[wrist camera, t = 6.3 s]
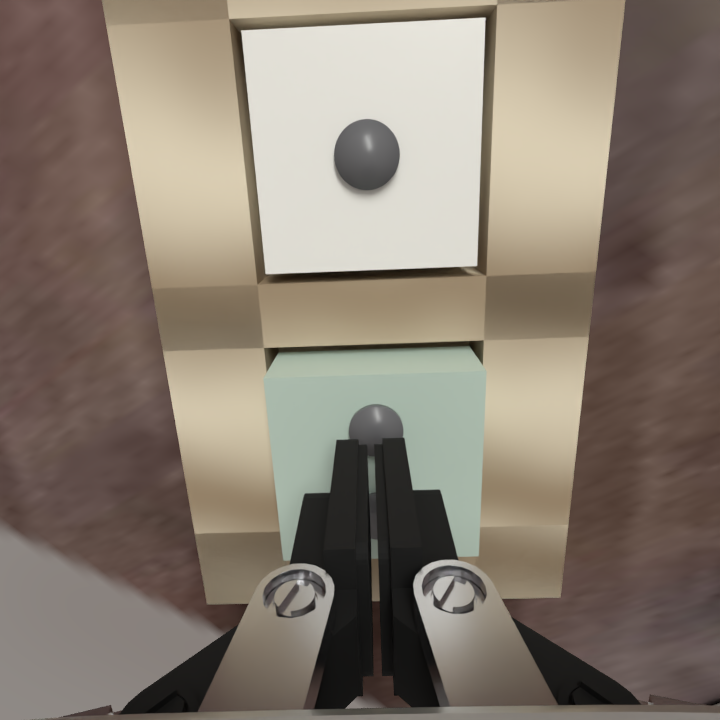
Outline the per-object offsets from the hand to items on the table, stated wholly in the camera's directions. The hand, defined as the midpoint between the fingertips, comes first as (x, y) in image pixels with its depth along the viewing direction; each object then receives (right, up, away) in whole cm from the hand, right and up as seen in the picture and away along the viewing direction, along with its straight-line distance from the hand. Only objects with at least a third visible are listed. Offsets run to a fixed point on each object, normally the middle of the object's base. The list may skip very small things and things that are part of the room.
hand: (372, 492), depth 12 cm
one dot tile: (0, +9, +2) cm, 9 cm away
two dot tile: (0, +1, +3) cm, 3 cm away
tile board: (0, +5, +4) cm, 7 cm away
